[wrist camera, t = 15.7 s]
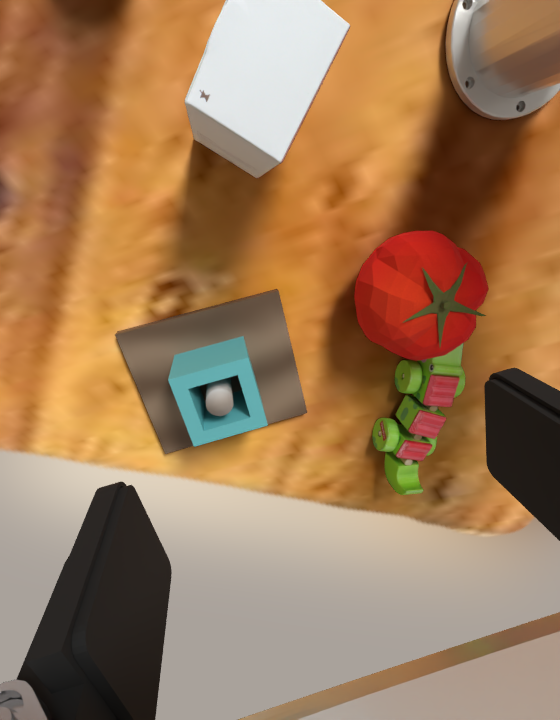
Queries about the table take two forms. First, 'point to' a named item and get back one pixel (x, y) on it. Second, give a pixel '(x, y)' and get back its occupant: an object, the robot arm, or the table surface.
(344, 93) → the table surface
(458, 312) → the tomato
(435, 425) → the toy crocodile
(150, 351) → the post board
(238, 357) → the bead
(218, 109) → the small box
